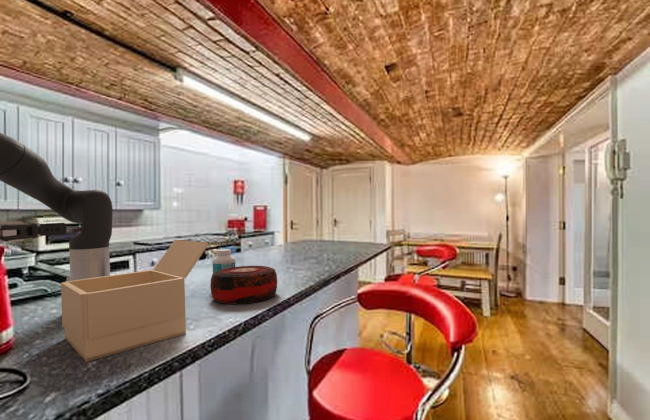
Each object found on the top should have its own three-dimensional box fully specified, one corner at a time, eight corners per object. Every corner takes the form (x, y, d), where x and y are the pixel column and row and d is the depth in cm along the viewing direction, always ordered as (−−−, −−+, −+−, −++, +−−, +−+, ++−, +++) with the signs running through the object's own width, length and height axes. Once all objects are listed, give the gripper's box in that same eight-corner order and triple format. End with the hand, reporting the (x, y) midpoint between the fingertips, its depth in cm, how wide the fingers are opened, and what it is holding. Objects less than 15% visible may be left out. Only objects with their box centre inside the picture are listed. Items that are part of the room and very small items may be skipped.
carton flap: (206, 242, 78) (209, 243, 79) (175, 239, 90) (177, 241, 91) (183, 277, 74) (186, 278, 75) (153, 269, 86) (155, 271, 87)
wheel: (268, 306, 95) (284, 289, 115) (267, 275, 95) (283, 264, 115) (198, 306, 97) (226, 290, 116) (197, 276, 97) (225, 265, 117)
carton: (83, 363, 60) (81, 295, 60) (61, 338, 73) (60, 282, 73) (187, 334, 74) (185, 278, 74) (153, 317, 87) (151, 269, 87)
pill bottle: (223, 293, 111) (222, 251, 111) (208, 291, 115) (207, 250, 115) (240, 288, 117) (239, 249, 117) (225, 286, 121) (224, 248, 121)
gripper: (-76, 212, 49) (72, 208, 62) (-70, 212, 59) (58, 209, 71) (-73, 264, 50) (73, 250, 62) (-67, 256, 59) (59, 245, 71)
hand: (65, 228), depth 67 cm, fingers closed
